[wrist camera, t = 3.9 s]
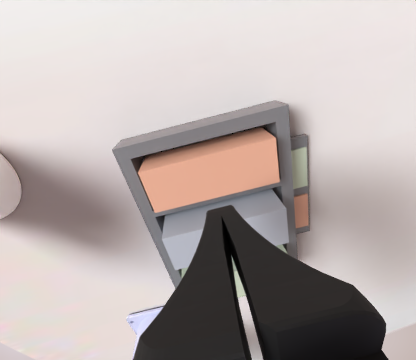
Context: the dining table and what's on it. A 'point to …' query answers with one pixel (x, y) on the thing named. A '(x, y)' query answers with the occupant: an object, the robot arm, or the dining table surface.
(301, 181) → the strip
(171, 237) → the key slate
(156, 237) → the keypad frame
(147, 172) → the key terracotta
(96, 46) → the dining table surface
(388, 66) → the dining table surface
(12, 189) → the mug
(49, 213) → the dining table surface
